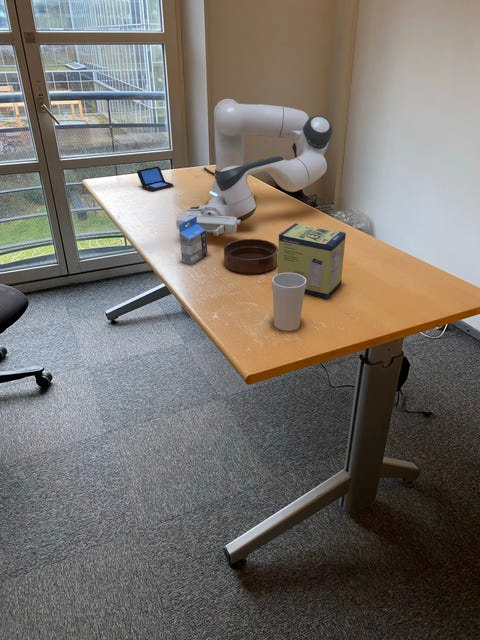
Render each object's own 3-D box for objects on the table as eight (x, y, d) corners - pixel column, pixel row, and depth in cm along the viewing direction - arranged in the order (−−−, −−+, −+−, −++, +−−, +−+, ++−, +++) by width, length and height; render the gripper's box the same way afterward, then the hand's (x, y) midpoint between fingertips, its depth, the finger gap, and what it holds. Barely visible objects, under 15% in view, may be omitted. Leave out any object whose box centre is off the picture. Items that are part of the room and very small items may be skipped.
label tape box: (191, 265, 154) (189, 226, 148) (181, 262, 156) (178, 224, 150) (208, 255, 160) (206, 218, 154) (197, 252, 162) (195, 215, 156)
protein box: (291, 272, 149) (294, 222, 141) (341, 284, 142) (347, 232, 134) (275, 286, 141) (277, 234, 133) (327, 299, 135) (332, 245, 127)
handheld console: (151, 192, 220) (150, 175, 216) (137, 187, 227) (135, 170, 223) (174, 186, 228) (173, 169, 224) (160, 182, 234) (158, 165, 231)
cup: (268, 316, 127) (270, 273, 121) (299, 314, 128) (302, 272, 122) (273, 333, 120) (274, 288, 114) (306, 331, 121) (309, 286, 115)
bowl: (231, 251, 163) (231, 236, 161) (281, 255, 160) (282, 240, 157) (218, 272, 149) (217, 257, 147) (272, 277, 146) (273, 262, 144)
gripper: (242, 228, 172) (232, 243, 160) (184, 224, 175) (171, 239, 164) (241, 210, 168) (232, 224, 157) (183, 206, 172) (170, 220, 161)
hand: (200, 232), depth 160 cm, fingers open, 8 cm apart
